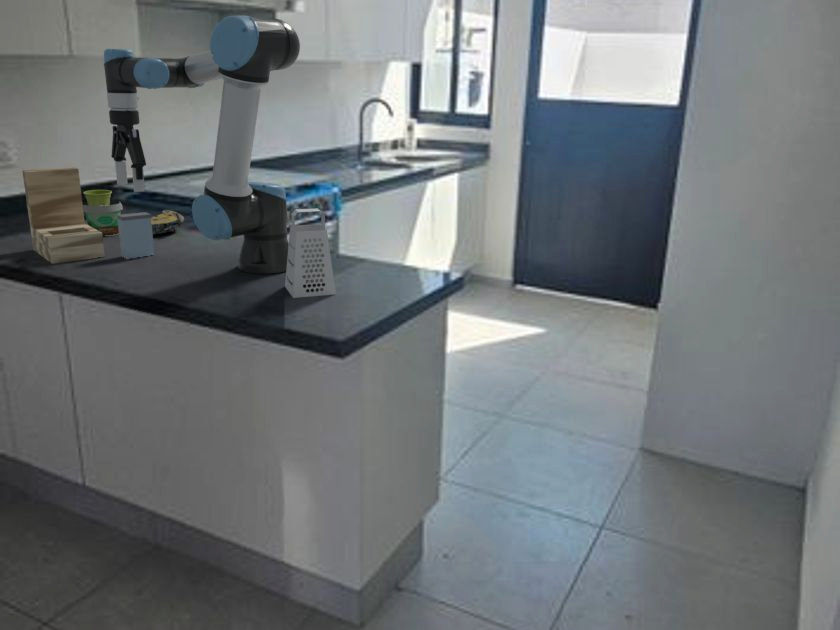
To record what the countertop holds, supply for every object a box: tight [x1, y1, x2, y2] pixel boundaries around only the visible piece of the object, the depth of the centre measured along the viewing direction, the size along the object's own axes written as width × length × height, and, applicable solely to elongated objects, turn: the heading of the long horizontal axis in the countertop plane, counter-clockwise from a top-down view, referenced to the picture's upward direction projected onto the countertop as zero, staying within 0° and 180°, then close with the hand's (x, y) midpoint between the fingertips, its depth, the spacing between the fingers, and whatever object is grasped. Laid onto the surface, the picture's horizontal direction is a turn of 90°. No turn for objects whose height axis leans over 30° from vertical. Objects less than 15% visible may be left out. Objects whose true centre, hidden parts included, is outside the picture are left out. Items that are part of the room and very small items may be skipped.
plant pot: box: [83, 189, 113, 206], centre depth 270 cm, size 9×9×9 cm
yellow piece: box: [151, 209, 185, 236], centre depth 252 cm, size 14×6×30 cm
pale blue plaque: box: [117, 211, 155, 260], centre depth 215 cm, size 4×8×12 cm, turn 129°
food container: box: [83, 201, 124, 236], centre depth 240 cm, size 12×6×10 cm, turn 131°
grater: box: [284, 207, 337, 299], centre depth 185 cm, size 10×10×20 cm
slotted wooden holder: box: [21, 166, 106, 265], centre depth 215 cm, size 20×14×23 cm
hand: (130, 188), depth 211 cm, fingers open, 13 cm apart
